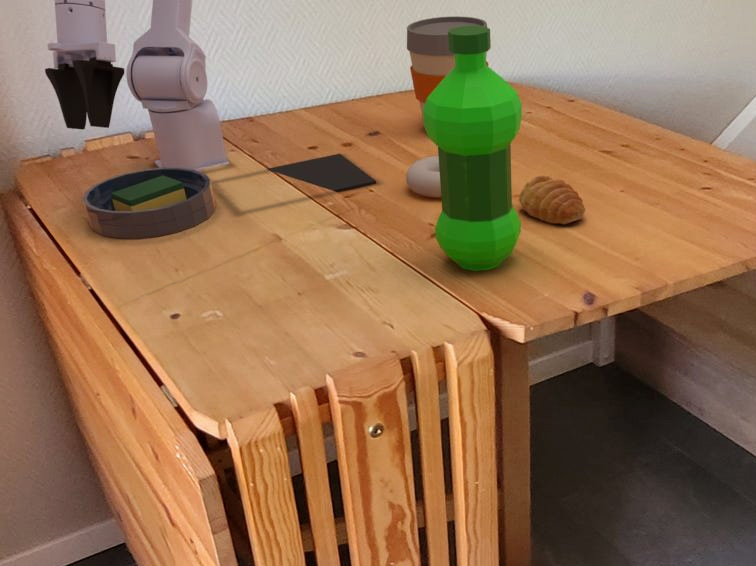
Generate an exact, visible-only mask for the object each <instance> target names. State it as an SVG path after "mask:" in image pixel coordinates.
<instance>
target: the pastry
mask: <svg viewBox="0 0 756 566" xmlns="http://www.w3.org/2000/svg"><path fill="white" fill-rule="evenodd" d="M518 200H519V203H520V205H521V208H522V209H523V211H524V212H526V213H527V214H528V215H529V216H531V217H533V218H535V219H536V218H537V219H539V220H541V221H544V222H546V223H548V224H561V225H566V224H571V223H572V222H575V221H578V220H581V219H582V218H583V216H584V214H585V212H586V207H585V205H584V203H583V199H582V198H581V196H579V193H578V191H576V190H575V189H574V188H573V186H572V185H570V184H569V183H566V182H565V181H564V180H563V179H553V178H552V177H551V176H547V175H538V176H535V177H533V178H532V179H531V180H530V181H528V182H526V184H525V185H524V186H523V187H522V190H521V191H520V194H519V199H518Z"/></svg>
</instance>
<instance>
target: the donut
mask: <svg viewBox="0 0 756 566" xmlns="http://www.w3.org/2000/svg"><path fill="white" fill-rule="evenodd" d="M405 182H406V184H407V186H408V187H409V189H410V191H412V192H414V193H415V194H417V195H420V196H422V197H426V198H427V197H428V198H435V199H436V198H437V199H439V198H440V199H441V185H440V171H439V156H438V155H431V156H426V157H423V158H421V159H419V160H416V161H415V162H412V164H411V165H410V166H408V169H407V171H406V175H405Z"/></svg>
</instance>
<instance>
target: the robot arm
mask: <svg viewBox="0 0 756 566" xmlns="http://www.w3.org/2000/svg"><path fill="white" fill-rule="evenodd" d="M192 9H193V0H152V7H151V17H150V18H151V19H150V20H151V21H150V27H149V28H148V29H147V31H145V32H144V33H143V34H141V35H140V36H139V37H138V38H137V39H136V40H134V42H133V46H132V53H131V57H130V58H129V60H128V63H127V65H126V73H125V68H124V67H120V66H114V64H113V63H116V61H117V59H116V58H117V57H116V56H117V55H116V44H115V43H109V42H108V34H107V15H106V13H107V12H106V0H54V13H55V14H54V15H55V28H56V42H49V43H47V50H48V51H52V58H53V68H52V67H47V68H44V72H45V76H46V77H47V79H48V80H49V82H50V84H51V85H52V87H53V91H54V92H55V94H56V97H57V100H58V103H59V107H60V110H61V113H62V117H63V121H64V123H65V126H66V129H73V130H86V125H87V120H88V123H89V125H90V127H95V128H103V129H104V128H106V129H109V128H110V125H111V120H112V114H113V109H114V102H115V98H116V95H117V90H118V87H119V86H120V83H121V81H122V79H123V77H124V75H125V76H126V77H125V78H126V82H127V86H128V89H129V91H130V92H131V95H132V96H133V97H134V99H135V100H137V101H138V102H140V103H141V106H142V109H145V110H146V109H147V111H148V115H149V120H150V123H151V127H152V131H153V135H154V139H155V143H156V148H157V152H158V155H159V159H157V160H155V161H154V163H155V165H156V166H157V168H184V169H191V170H196V171H200V170H206V169H211V168H214V167H220V166H224V165H229V164H230V162H229V159H228V154H227V150H226V144H225V140H224V134H223V130H222V124H221V119H220V117H219V114H218V110H217V108H216V106H215V104H214V102H213V100H211V99H209V98H208V99H205V96H206V94H207V90H208V75H207V71H206V70H207V69H206V57H207V56H206V54H205V52H204V50H203V49H202V48H201V47H200V46H199V44H197V42H196V41H194V39H192V38H191V36H190V30H191V21H192V20H191V18H192Z"/></svg>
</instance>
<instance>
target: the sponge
mask: <svg viewBox="0 0 756 566" xmlns="http://www.w3.org/2000/svg"><path fill="white" fill-rule="evenodd" d="M111 197H112V200H113V204H114V207H115V211H139V210H148V209H155V208H159V207H164V206H169V205H172V204H175V203H178V202H181V201H184V200H187V199H186V195H185V191H184V186H183V182H180V181H177V180H175V179H172V178H169V177H166V176H164V175H163V176H160V177H157V178H154V179H151V180H148V181H145V182H142V183H139V184H136V185H133V186H130V187H127V188H124V189H121V190H118V191H115V192H112V193H111Z"/></svg>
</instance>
